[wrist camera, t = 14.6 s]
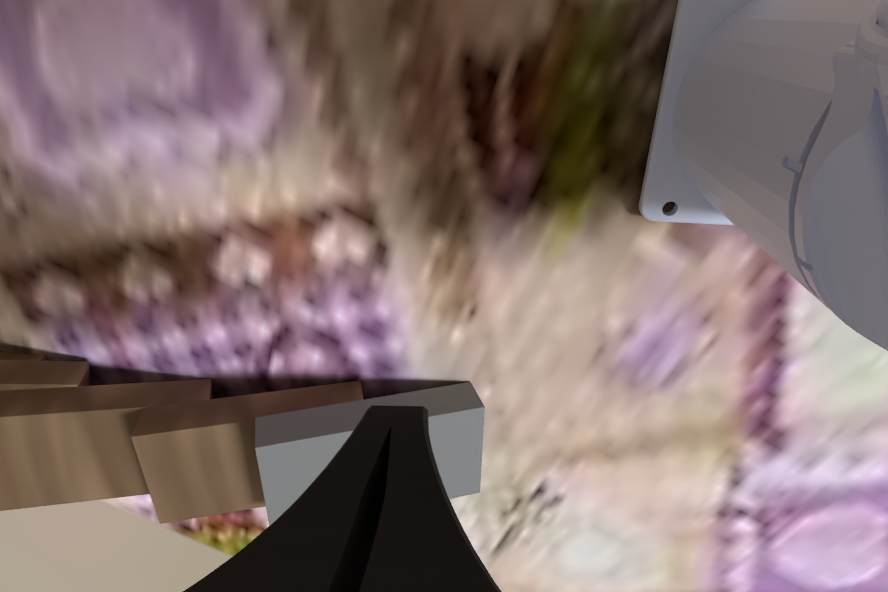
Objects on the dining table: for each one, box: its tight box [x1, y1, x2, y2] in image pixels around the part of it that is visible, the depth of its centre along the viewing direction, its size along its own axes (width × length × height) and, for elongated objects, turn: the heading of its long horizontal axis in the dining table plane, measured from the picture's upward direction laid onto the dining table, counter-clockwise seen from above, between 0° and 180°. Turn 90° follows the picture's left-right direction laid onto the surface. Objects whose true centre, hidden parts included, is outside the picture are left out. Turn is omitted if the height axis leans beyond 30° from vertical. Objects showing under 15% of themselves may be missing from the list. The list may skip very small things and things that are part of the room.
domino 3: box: [0, 379, 213, 511], centre depth 24 cm, size 2×5×9 cm
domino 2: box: [131, 380, 363, 524], centre depth 24 cm, size 2×5×9 cm
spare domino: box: [255, 382, 484, 525], centre depth 24 cm, size 2×5×9 cm
